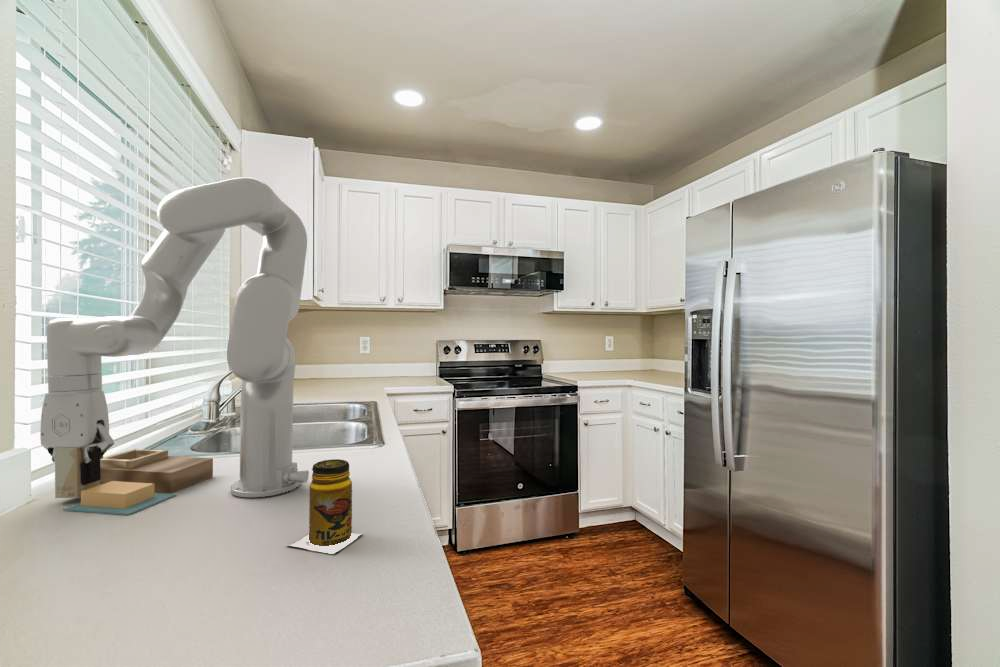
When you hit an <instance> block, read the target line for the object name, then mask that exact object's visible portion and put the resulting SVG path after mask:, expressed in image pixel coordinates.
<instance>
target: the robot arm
mask: <svg viewBox="0 0 1000 667" xmlns="http://www.w3.org/2000/svg"><path fill="white" fill-rule="evenodd" d="M156 215H157V218H158V222H159V224H160V225H161V227H162V228H164V229H163V231H162V232H161V234H160V235H159V237H158V238H157V239H156V241H155V242H154V244H153V245H152V246H151V248H150V249H149V251H147V254H145V255H144V257H143V259H142V260H141V269H142V272H143V276H144V279H145V290H144V293H143V295H142V298H141V299H140V301H139V303H138V304H137V306H136V307H135V308H134V310H133V311H132V313H131V314H130V315H129V316H119V315H117V316H116V315H113V316H110V315H109V316H101V317H95V318H87V317H85V318H83V317H81V318H80V317H78V318H77V317H72V318H71V317H69V318H67V317H64V318H63V317H61V318H60V317H59V318H54V319H51V320H50V321H48V323H47V324H46V354H47V355H46V357H47V358H46V359H47V360H46V361H47V387H48V388H47V390H48V391H47V392H46V393H45V395H44V397H43V402H42V408H41V415H40V435H39V436H40V445H41V447H43V448H44V449H45V450H47V452H48V453H49V455H50V456H51V461H52V463H55V447H60V448H81V452H82V456H83V460H84V463H81V484H82V485H86V484H89V483H93V482H96V481H99V480H100V479H101V471H100V459H102V458H103V457H104V455H105V454H106V452H107V451H108V450H109V449H110V448H111V447H112V446H113V445H114V444H115V441H114V439H113V438H112V437H111V435H110V419H109V411H108V410H109V409H108V404H107V399H106V395H105V392H104V390H103V376H102V375H103V369H102V366H103V365H102V357H108V358H109V357H113V358H114V357H115V358H117V357H127V356H137V355H144V354H146V353H149V352H151V351H152V350H154V349H155V348H156V347H157V346H158V345H160V343H161V342H162V341H163V340H164V338H165V337H166V335H167V334H168V332H169V331H170V329H172V327H173V325H174V323H175V322H176V321H177V319H178V317H179V315H180V314H181V311H182V308H183V307H184V306H183V305H184V302H185V299H186V296H187V294H188V289H189V286H190V284H191V283H192V281H193V279H194V278H195V277H196V275H197V274H198V272H199V270H200V269H201V268H202V266H203V265H204V263H205V262H206V260H207V259H208V258H209V256H210V255H211V254H212V252H213V250H215V248H216V246H218V243H219V242H220V240H221V239H222V238H223V235H224V234H225V232H226V229H228V228H229V229H230V228H233V227H234V228H235V227H238V226H244V225H245V226H246V227H248V228H249V229H251V230H252V231H254V232H256V233H258V234H259V235H261V237H262V246H261V248H260V253H259V258H258V265H257V271H256V274H255V275H253V276H251V277H249V278H247V279H246V280H245V281H244V282H243V283H242V284H241V286H240V287H239V289H238V291H237V294H236V296H235V300H234V305H233V311H232V316H231V317H232V318H231V323H230V328H229V334H228V341H227V347H226V348H227V350H226V361H227V365H228V367H229V370H230V371H231V373H232V374H233V375H234V376H236V377H237V378H238V379H240V380H241V381H242V383H241V392H240V417H239V418H240V420H239V421H240V422H239V424H240V426H239V428H240V429H239V432H240V433H239V434H240V435H239V437H240V438H239V448H240V449H239V480H237V481H235V482H233V483H232V485H230V493H231V494H232V495H233V496H236V497H239V498H250V499H251V498H265V497H266V496H267V497H271V496H272V497H273V496H277V494H278V495H282V494H285V492H286V493H288V491H289V492H291V491H293V490H295V489H296V487H297V488H299V486H300V484H301V483H302V484H306V483H307V482H308V480H309V474H310V471H309V470H304V469H302V470H301V469H300V470H299V469H298V462H293V422H294V421H293V417H294V416H293V414H294V413H293V411H294V386H295V385H294V384H295V373H296V352H295V348H294V346H293V343H292V342H291V340H290V339H288V337H287V334H288V330H289V323H290V322H291V321H292V320H293V319H294V318H295V317H296V316H297V314H299V313H298V312H299V310H300V307H301V297H302V296H301V295H302V288H303V280H304V273H305V265H306V257H307V250H308V236H307V230H306V227H305V225H304V223H303V221H302V219H301V218H300V216H299V215H298V214H297V213H296V212H295V211H294V210H293V209H292V208H291V207H290V206H288V205H287V204H286V203H285V202H284V201H283V200H281V199H280V197H279V196H278V195H277V194H276V192H274V190H273V189H272V188H271V187H270V186H269V185H268V184H267V183H265V182H264V181H263V180H259V179H257V178H254V177H249V176H247V177H244V176H243V177H236V178H235V177H234V178H229V179H224V180H220V181H216V182H211V183H205V184H200V185H194V186H190V187H186V188H182V189H178V190H175V191H173V192H171V193H169V194H167V195H166V196H165V197H164V198H162V200H161V201H160V202H159V204H158V206H157V211H156ZM90 443H93V444H90ZM88 444H89V445H88ZM91 447H93V451H92V452H91V453H90V449H89V448H91ZM281 493H282V494H281ZM267 497H266V498H267Z"/></svg>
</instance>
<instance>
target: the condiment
mask: <svg viewBox="0 0 1000 667" xmlns="http://www.w3.org/2000/svg"><path fill="white" fill-rule="evenodd" d="M311 470H312V474H311V482H310V484H309V500H308V501H309V508H308V510H309V514H308V516H309V518H308V520H309V522H308V525H309V526H308V528H309V530H308V531H309V532H308V533H309V540H310V543H312V544H314V545H319V546H329V545H335V544H338V543H341V542H344V541H346V540H347V539H349V538H350V536H351V533H352V532H353V525H352V524H353V521H352V519H353V513H352V512H353V504H352V503H353V501H352V500H353V489H352V488H353V486H352V484H353V481H352V479H351V478H350V475H351V474H350V464H349V462H348V461H347V460H344V459H336V458H334V459H324V460H320V461H318V462H315V463H314V464H312V469H311Z"/></svg>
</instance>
